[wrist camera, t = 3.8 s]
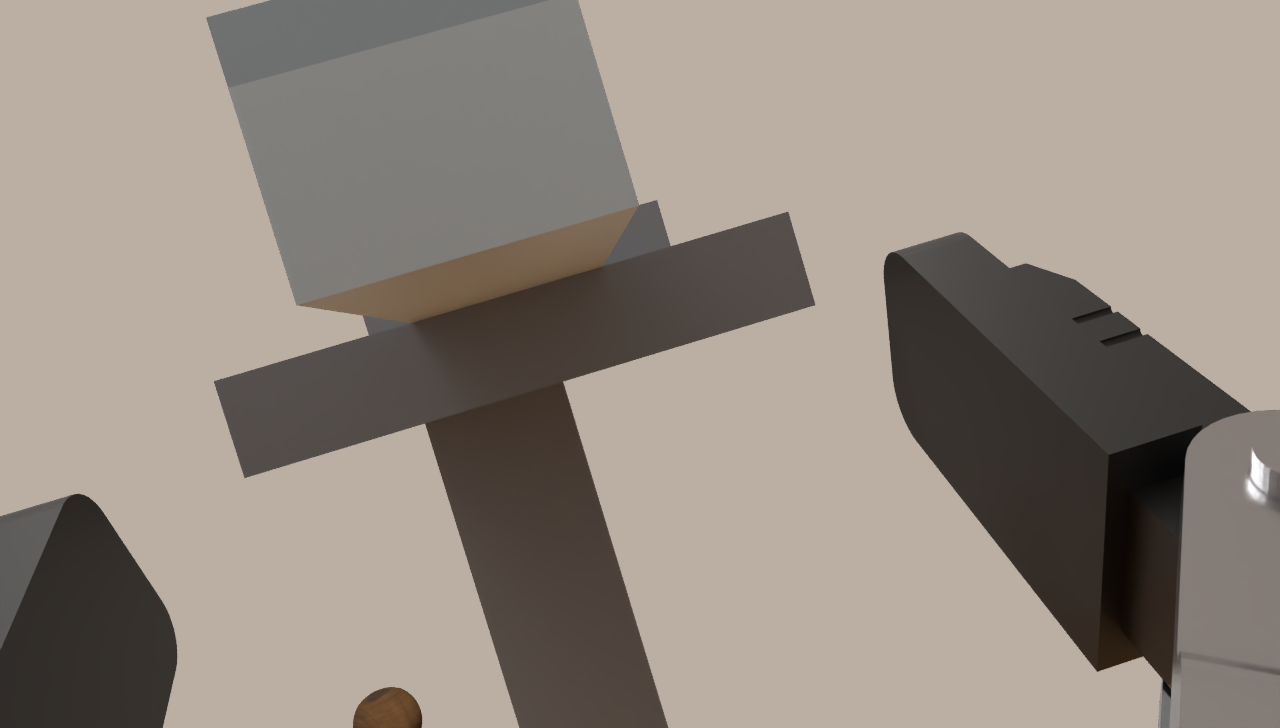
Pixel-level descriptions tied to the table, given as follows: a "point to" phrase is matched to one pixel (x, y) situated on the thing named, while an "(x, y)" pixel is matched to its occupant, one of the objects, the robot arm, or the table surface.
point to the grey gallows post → (529, 439)
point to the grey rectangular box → (426, 147)
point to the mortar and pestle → (388, 710)
